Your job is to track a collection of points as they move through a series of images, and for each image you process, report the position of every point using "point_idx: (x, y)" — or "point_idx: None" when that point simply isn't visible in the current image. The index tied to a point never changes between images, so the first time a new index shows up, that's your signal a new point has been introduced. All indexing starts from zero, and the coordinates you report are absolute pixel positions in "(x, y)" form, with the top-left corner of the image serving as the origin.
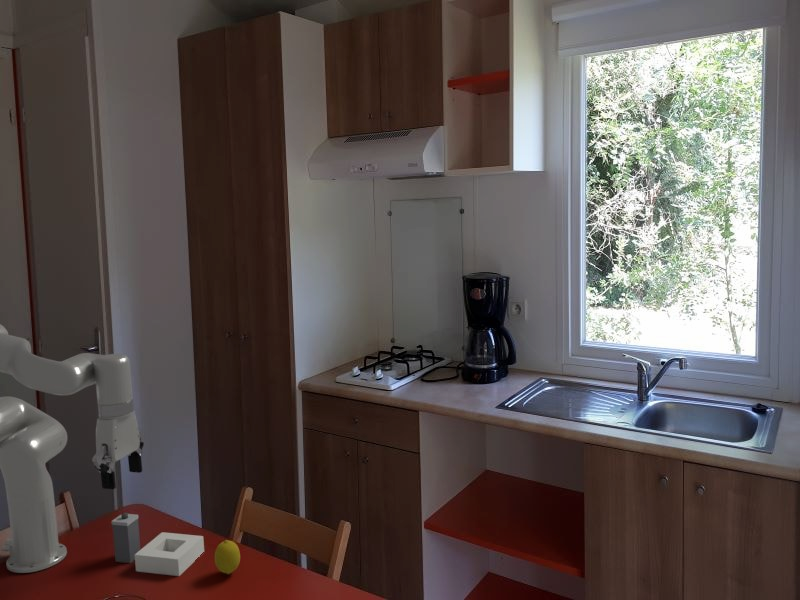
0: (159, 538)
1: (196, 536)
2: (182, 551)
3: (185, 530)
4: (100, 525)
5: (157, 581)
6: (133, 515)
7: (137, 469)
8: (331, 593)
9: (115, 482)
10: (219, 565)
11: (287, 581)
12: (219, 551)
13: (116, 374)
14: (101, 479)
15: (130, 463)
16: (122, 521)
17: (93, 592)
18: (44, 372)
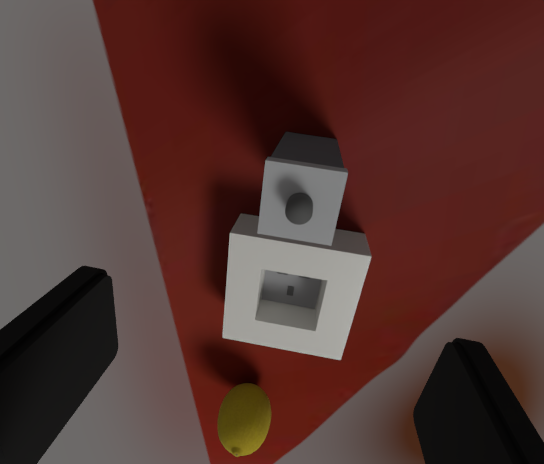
0: (328, 263)
1: (339, 346)
2: (259, 337)
3: (472, 255)
4: None
5: (207, 276)
6: (324, 230)
7: (427, 421)
8: None
9: (93, 385)
10: (222, 402)
11: None
12: (220, 429)
13: None
14: (25, 310)
15: (475, 431)
16: (266, 210)
17: (135, 154)
18: None
